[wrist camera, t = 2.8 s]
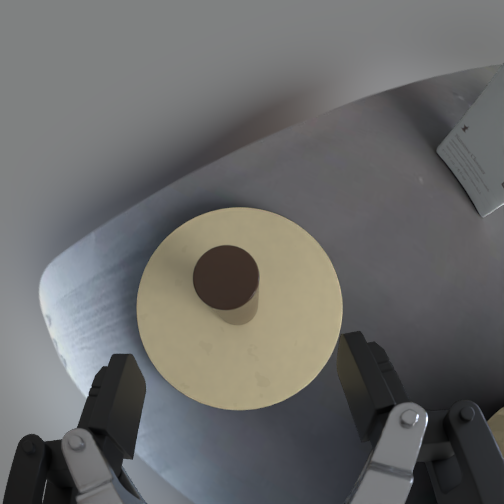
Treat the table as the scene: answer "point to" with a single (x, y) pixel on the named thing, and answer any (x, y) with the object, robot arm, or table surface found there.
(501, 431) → the pot
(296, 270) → the lid
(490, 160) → the cosmetic box
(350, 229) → the table surface
